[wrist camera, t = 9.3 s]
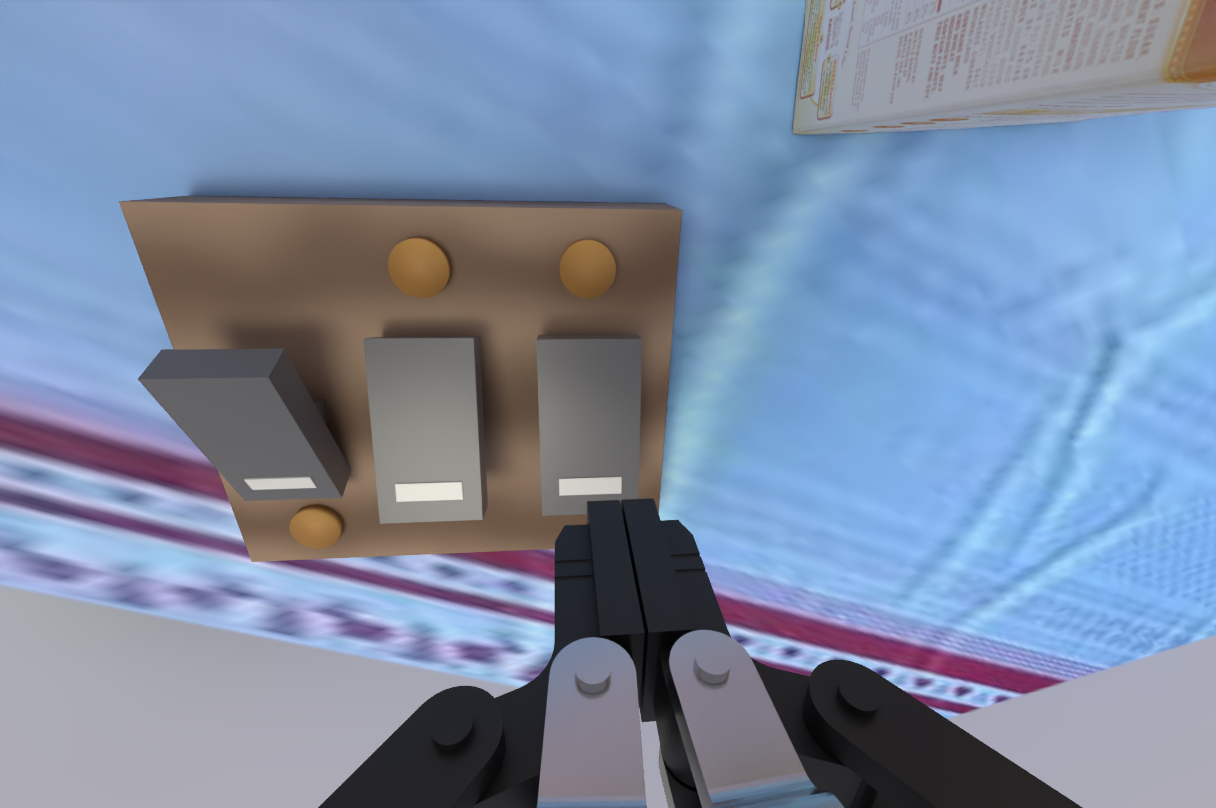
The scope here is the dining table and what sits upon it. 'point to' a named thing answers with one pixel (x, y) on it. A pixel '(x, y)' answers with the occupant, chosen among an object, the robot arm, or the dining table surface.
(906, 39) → the coffeecake box
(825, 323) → the dining table surface
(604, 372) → the rocker
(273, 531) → the switch unit
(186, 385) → the rocker
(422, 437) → the rocker
